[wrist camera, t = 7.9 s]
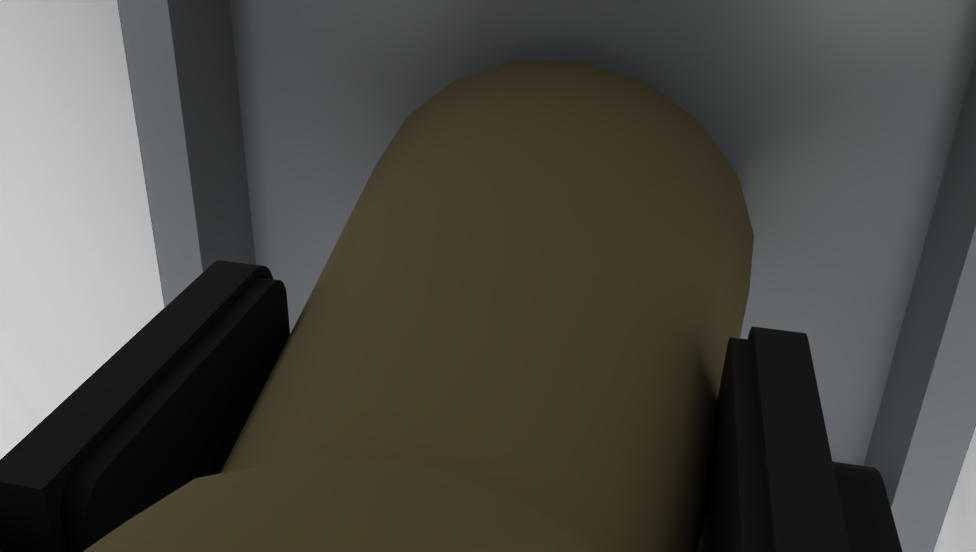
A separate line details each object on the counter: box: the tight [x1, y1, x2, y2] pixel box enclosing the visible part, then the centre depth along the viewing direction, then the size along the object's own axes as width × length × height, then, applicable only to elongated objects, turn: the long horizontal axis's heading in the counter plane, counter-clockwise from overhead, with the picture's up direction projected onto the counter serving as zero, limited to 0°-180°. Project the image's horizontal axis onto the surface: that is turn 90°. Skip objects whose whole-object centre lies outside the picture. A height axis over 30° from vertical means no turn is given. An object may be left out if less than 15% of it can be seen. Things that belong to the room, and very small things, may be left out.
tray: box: [117, 0, 976, 552], centre depth 15 cm, size 11×13×2 cm
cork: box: [83, 61, 754, 552], centre depth 9 cm, size 6×6×11 cm
